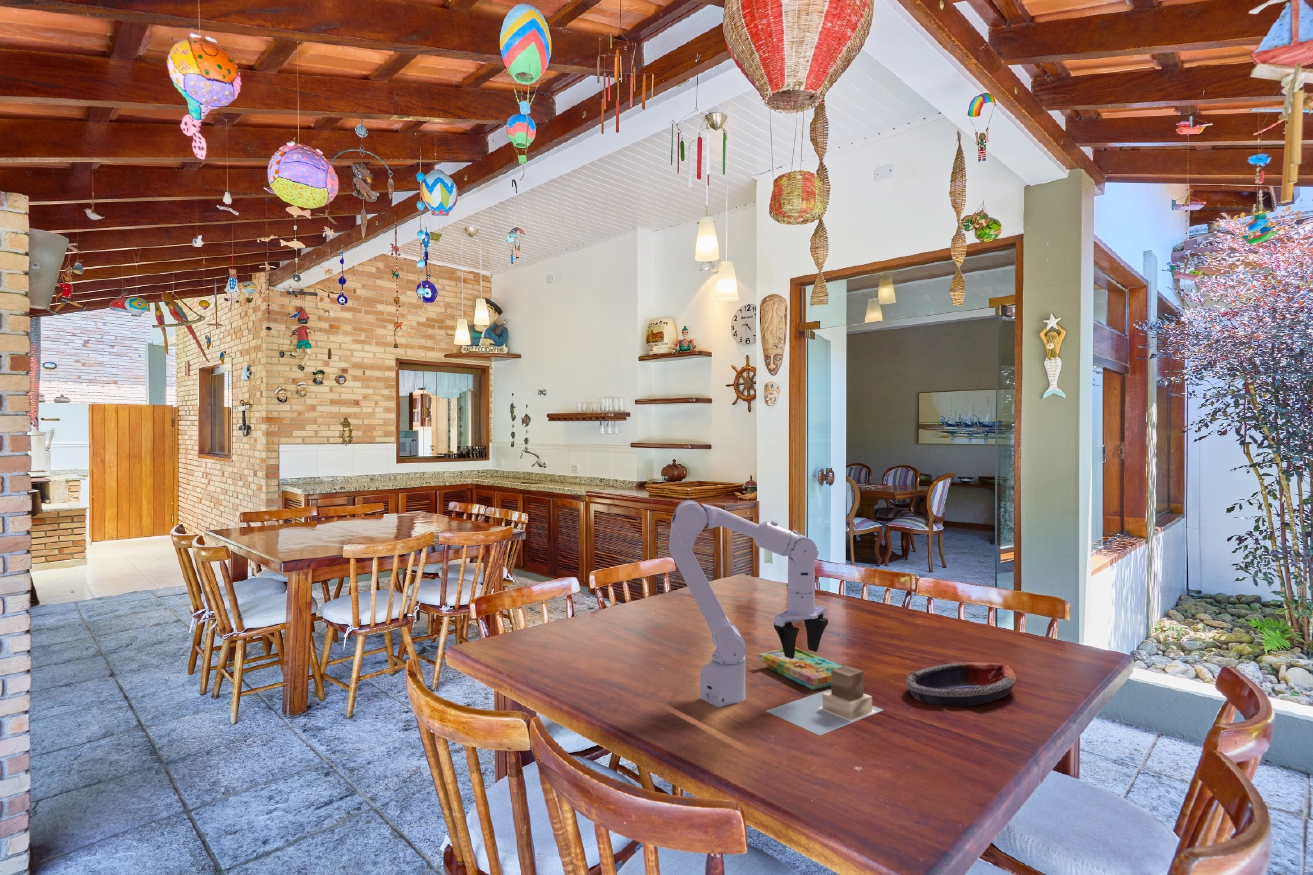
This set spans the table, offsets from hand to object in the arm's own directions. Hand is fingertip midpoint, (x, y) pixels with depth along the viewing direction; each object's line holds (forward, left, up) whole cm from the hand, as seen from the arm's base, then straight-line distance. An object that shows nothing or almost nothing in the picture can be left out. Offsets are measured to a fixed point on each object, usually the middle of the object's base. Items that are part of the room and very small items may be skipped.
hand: (801, 654), depth 142 cm
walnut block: (+2, -11, -6) cm, 12 cm away
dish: (+32, -19, -10) cm, 39 cm away
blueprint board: (-2, -8, -10) cm, 13 cm away
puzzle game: (+11, +9, -10) cm, 18 cm away
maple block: (+2, -11, -9) cm, 14 cm away
